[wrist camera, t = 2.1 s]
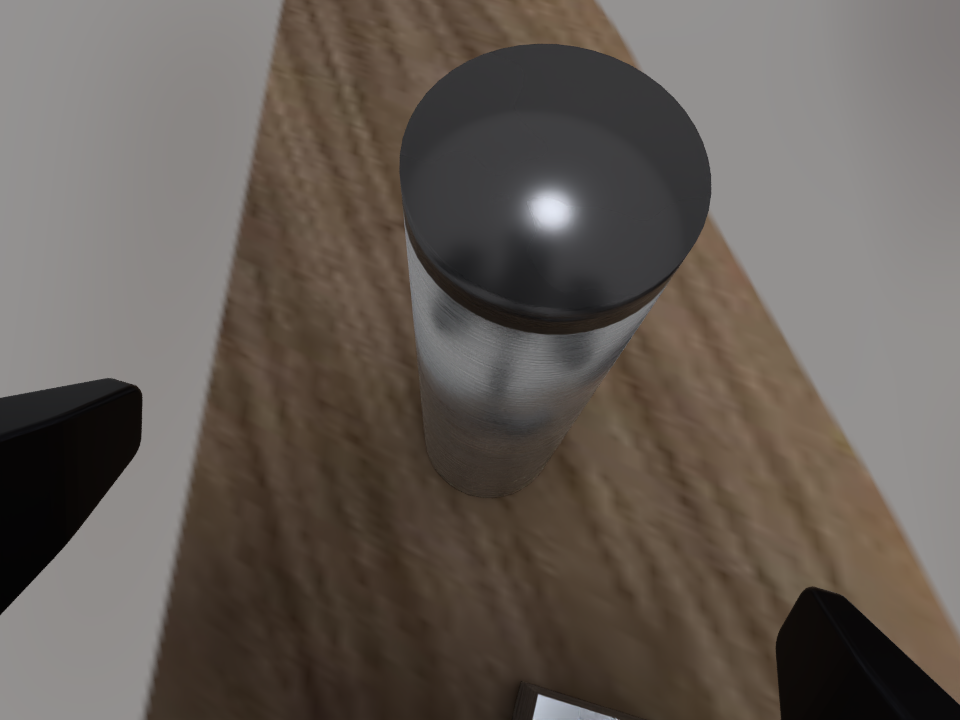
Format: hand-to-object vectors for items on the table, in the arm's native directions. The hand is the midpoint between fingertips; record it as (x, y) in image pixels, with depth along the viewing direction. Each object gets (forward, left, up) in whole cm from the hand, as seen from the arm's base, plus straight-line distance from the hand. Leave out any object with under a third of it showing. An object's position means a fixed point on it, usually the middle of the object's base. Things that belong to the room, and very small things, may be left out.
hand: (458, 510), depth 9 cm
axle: (+1, +4, -11) cm, 11 cm away
